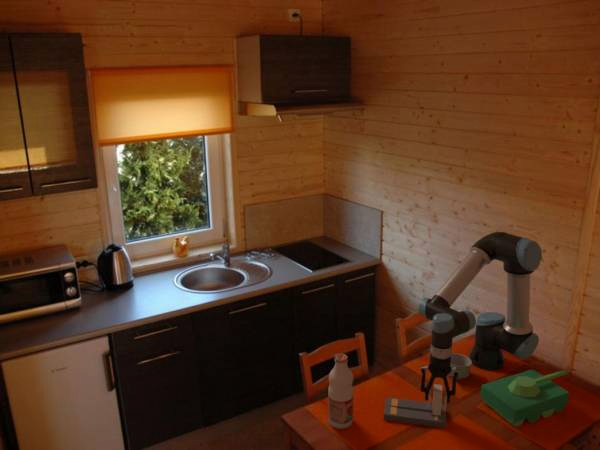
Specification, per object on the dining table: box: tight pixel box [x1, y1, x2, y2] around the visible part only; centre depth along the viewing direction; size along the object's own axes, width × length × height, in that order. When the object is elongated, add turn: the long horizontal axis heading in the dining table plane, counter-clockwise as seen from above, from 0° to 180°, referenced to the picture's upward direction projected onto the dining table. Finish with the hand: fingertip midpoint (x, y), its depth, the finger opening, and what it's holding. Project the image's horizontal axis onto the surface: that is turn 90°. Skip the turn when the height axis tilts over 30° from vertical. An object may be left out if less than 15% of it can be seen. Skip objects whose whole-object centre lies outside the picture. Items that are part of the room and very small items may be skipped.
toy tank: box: [480, 368, 570, 428], centre depth 212 cm, size 18×12×35 cm
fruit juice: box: [327, 353, 354, 430], centre depth 201 cm, size 9×9×28 cm
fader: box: [432, 383, 443, 416], centre depth 204 cm, size 3×5×10 cm, turn 167°
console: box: [383, 396, 447, 429], centre depth 208 cm, size 23×11×3 cm, turn 77°
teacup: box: [447, 352, 473, 380], centre depth 231 cm, size 14×11×8 cm
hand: (436, 408), depth 205 cm, fingers open, 5 cm apart
